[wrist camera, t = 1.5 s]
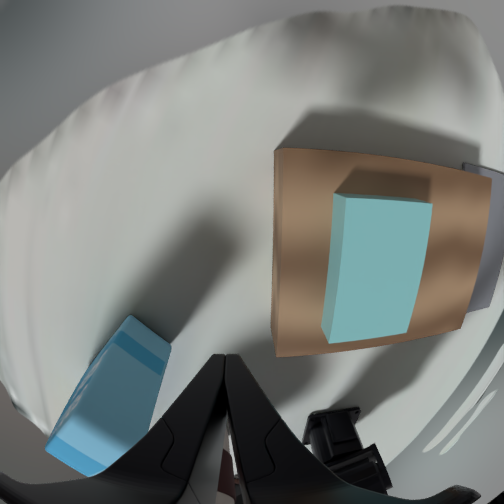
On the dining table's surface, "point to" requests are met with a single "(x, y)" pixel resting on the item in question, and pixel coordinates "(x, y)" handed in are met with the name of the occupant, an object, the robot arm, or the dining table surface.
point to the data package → (112, 400)
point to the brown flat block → (319, 236)
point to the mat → (489, 242)
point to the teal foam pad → (374, 265)
